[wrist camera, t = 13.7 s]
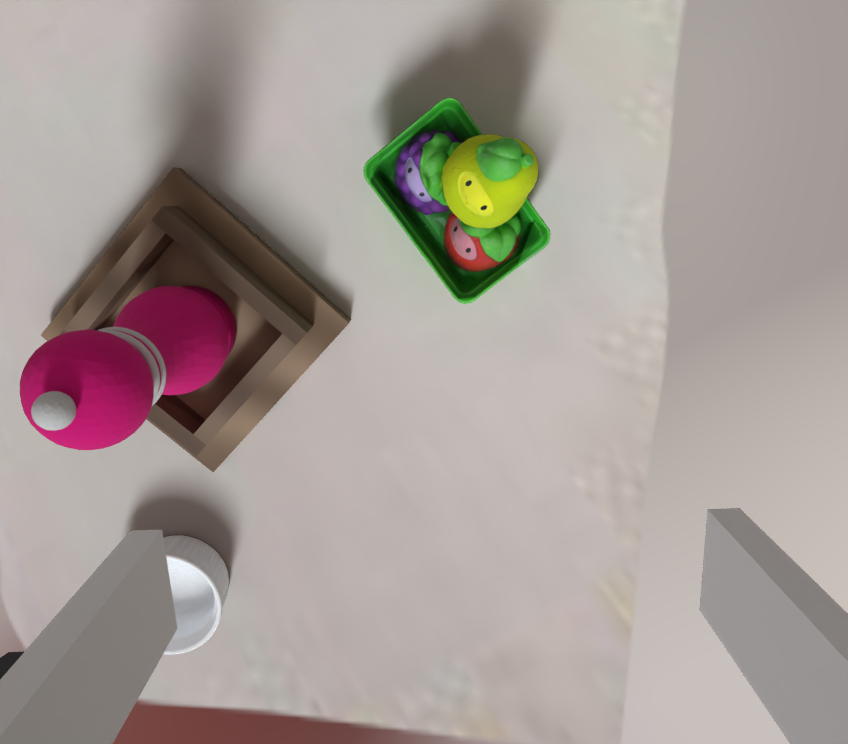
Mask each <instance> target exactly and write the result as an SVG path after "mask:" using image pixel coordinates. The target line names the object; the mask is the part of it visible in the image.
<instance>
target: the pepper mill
mask: <svg viewBox="0 0 848 744" xmlns="http://www.w3.org/2000/svg"><path fill="white" fill-rule="evenodd" d="M236 331H237V330H236V322H235V319H234V316H233V313H232V311H231V310H230V308H229V306H228V305H227V304H226V303H225V301H224V300H223V299H222V298H220V297H219V296H218V295H217V294H216V293H214V292H212V291H210V290H208V289H205V288H203V287H198V286H181V287H175V286H162V287H157V288H152V289H150V290H148V291H145V292H143V293H142V294H140V295H138V296H137V297H135V298H133V299H132V300H131V301H130V302H129V303H128V304H126V305H125V306H124V308H123V309H122V311H121V312H120V314H119V315H118V317H117V319H116V320H115V323H114V326H113V327H108V328H102V329H99V330H97V331H96V330H90V329H86V330H78V331H71V332H67V333H64V334H61V335H58V336H56V337H54V338H52V339H51V340H49V341H47V342H46V343H44V344H43V345H42V346H41V347H40V348H38V349H37V350H36V351H35V352H34V353H33V355H32V356H31V357H30V359H29V360H28V362H27V364H26V365H25V368H24V370H23V372H22V376H21V380H20V397H21V403H22V407H23V410H24V413H25V415H26V416H27V418H28V420H29V421H30V423H31V424H32V425H33V426H34V427H35V428H36V430H37V431H38V432H40V433H41V434H42V435H43V436H45V437H46V438H47V439H49V440H51V441H53V442H54V443H56V444H58V445H61V446H64V447H68V448H73V449H78V450H95V449H101V448H106V447H109V446H112V445H115V444H117V443H119V442H121V441H123V440H125V439H126V438H128V437H129V436H130V435H132V434H133V433H134V432H135V431H136V430H137V429H138V428H139V427H140V426H141V425H142V424H143V422H144V421H145V420H146V418H147V417H148V415H149V412H150V410H151V407H152V406H153V405H154V404H155V403H156V402H157V400H158V399H159V398H160V397H161V395H180V394H185V393H189V392H192V391H195V390H197V389H198V388H200V387H202V386H203V385H205V384H207V383H208V382H210V381H211V380H212V379H213V378H214V377H215V376H216V375H217V374H218V373H219V371H220V370H221V368H222V366H223V365H224V362H225V360H226V358H227V356H228V355H229V354H230V352H231V351H232V349H233V347H234V344H235V340H236Z"/></svg>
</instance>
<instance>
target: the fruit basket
mask: <svg viewBox="0 0 848 744" xmlns="http://www.w3.org/2000/svg"><path fill="white" fill-rule="evenodd" d="M364 177H365V179H366V181H367V182H368V184H369V185H370V186H371V188H372V189H373V190H374V191H375V193H376V194H377V195H378V197H379V198H380V199H381V201H382V202H383V203H384V204H385V206H386V207H387V208H388V210H389V211H390V212H391V213H392V215H393V216H394V217H395V219H396V220H397V222H398V223H399V224H400V226H401V227H402V228H403V230H404V231H405V232H406V234H407V235H408V236H409V238H410V239H411V240H412V242H413V243H414V245H415V246H416V247H417V249H418V250H419V251H420V253H421V254H422V255H423V256H424V258H425V259H426V260H427V262H428V263H429V264H430V266H431V267H432V268H433V270H434V271H435V272H436V274H437V275H438V277H439V278H440V279H441V280H442V282H443V283H444V285H445V286H446V287H447V289H448V290H449V291H450V293H451V294H452V296H453V297H454V298H455V299H456V300H457V301H459V302H460V303H464V304H466V303H471V302H473V301H475V300H476V299H477V298H479V297H480V296H481V295H482V294H484V293H485V292H486V291H487V290H489V289H490V288H491V287H493V286H494V285H495V284H497V283H498V282H499V281H500V280H502V279H503V278H504V277H505V276H507V275H508V274H510V273H511V272H512V271H514V270H515V269H516V268H518V267H519V266H520V265H522V264H523V263H524V262H526V261H527V260H529V259H530V258H531V257H533V256H534V255H535V254H537V253H538V252H540V251H541V250H542V249H544V248H545V247H546V246H547V244H548V243H549V241H550V230H549V228H548V227H547V226H546V224H545V223H544V221H543V220H542V218H541V217H540V216H539V214H538V213H537V212H536V210H535V209H534V207H533V206H532V204H531V203H530V202H529V200H528V199H527V196H528V194H529V193H530V191H531V190H532V189H533V187H534V186H535V183H536V181H537V177H538V162H537V158H536V156H535V154H534V152H533V151H532V149H531V148H530V147H529V146H528V145H527V144H525V143H524V142H522V141H520V140H518V139H515V138H504V137H502V136H499V135H492V134H485V135H483V134H482V133H481V132H480V130H479V129H478V127H477V126H476V125H475V123H474V121H473V120H472V119H471V117H470V116H469V114H468V113H467V111H466V110H465V109H464V107H463V106H462V104H461V103H460V102H459V101H458V100H456V99H454V98H445V99H443V100H441V101H440V102H438V103H437V104H436V105H435V106H434V107H433V108H431V109H430V110H429V111H428V112H427V113H425V114H424V115H423V116H422V117H420V118H419V119H418V120H417V121H416V122H414V123H413V124H412V125H411V126H409V127H408V128H407V129H406V130H405V131H403V132H402V133H401V134H400V135H399V136H397V137H396V138H395V139H394V140H393V141H391V142H390V143H389V144H388V145H386V146H385V147H384V148H382V149H381V150H380V151H379V152H378V153H376V154H375V155H374V156H373V157H372V158H370V159H369V160H368V161H367V162H366V164H365V166H364Z"/></svg>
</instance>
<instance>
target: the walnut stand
mask: <svg viewBox="0 0 848 744" xmlns="http://www.w3.org/2000/svg"><path fill="white" fill-rule="evenodd" d="M162 286H175V287H181V286H198V287H203V288H205V289H208V290H210V291H212V292H214V293H216V294H217V295H218V296H219V297H220V298H222V299H223V300H224V301H225V303H226V304H227V305H228V306H229V308H230V310H231V311H232V313H233V316H234V319H235V322H236V330H237V331H236V340H235V344H234V347H233V349H232V351H231V352H230V354H229V355H228V356H227V358H226V360H225V362H224V365H223V366H222V368H221V370H220V371H219V373H218V374H217V375H216V376H215V377H214V378H213V379H212V380H211V381H210V382H208V383H207V384H205V385H203V386H202V387H200V388H198V389H197V390H195V391H192V392H189V393H185V394H180V395H161V397H160V398H159V399H158V400H157V402H156V403H155V404H154V405H153V406H152V407H151V410H150V412H149V415H148V417H147V418H146V419H147V420H148V421H149V422H151V423H152V424H153V425H154V426H156V427H157V428H158V429H159V430H161V431H162V432H163V433H164V434H166V435H167V436H168V437H169V438H171V439H172V440H173V441H174V442H176V443H177V444H178V445H179V446H181V447H182V448H183V449H185V450H186V451H187V452H188V453H190V454H191V455H192V456H193V457H195V458H196V459H197V460H198V461H200V462H201V463H202V464H203V465H205V466H206V467H207V468H208V469H210V470H211V471H212V472H214V471H215V470H216V469H217V468H218V467H219V465H220V464H221V463H222V462H223V461H224V460H225V459H226V458H227V457H228V456H229V454H230V453H231V452H232V451H233V450H234V449H235V448H236V447H237V446H238V445H239V443H240V442H241V441H242V440H243V439H244V438H245V437H246V436H247V435H248V434H249V432H250V431H251V430H252V429H253V428H254V427H255V426H256V425H257V424H258V423H259V421H260V420H261V419H262V418H263V417H264V416H265V415H266V414H267V413H268V412H269V410H270V409H271V408H272V407H273V406H274V405H275V404H276V403H277V402H278V401H279V399H280V398H281V397H282V396H283V395H284V394H285V393H286V392H287V391H288V390H289V388H290V387H291V386H292V385H293V384H294V383H295V382H296V381H297V380H298V379H299V377H300V376H301V375H302V374H303V373H304V372H305V371H306V370H307V369H308V368H309V366H310V365H311V364H312V363H313V362H314V361H315V360H316V359H317V358H318V357H319V355H320V354H321V353H322V352H323V351H324V350H325V349H326V348H327V347H328V346H329V344H330V343H331V342H332V341H333V340H334V339H335V338H336V337H337V336H338V335H339V333H340V332H341V331H342V330H343V329H344V328H345V327H346V326H347V325H348V324H349V322H350V320H351V319H350V318H349V317H347V316H346V315H345V314H344V313H343V312H342V311H341V310H340V309H338V308H337V307H336V306H335V305H334V304H333V303H332V302H331V301H329V300H328V299H327V298H326V297H325V296H324V295H323V294H322V293H320V292H319V291H318V290H317V289H316V288H315V287H314V286H313V285H311V284H310V283H309V282H308V281H307V280H306V279H305V278H304V277H302V276H301V275H300V274H299V273H298V272H297V271H296V270H295V269H293V268H292V267H291V266H290V265H289V264H288V263H287V262H286V261H284V260H283V259H282V258H281V257H280V256H279V255H278V254H277V253H275V252H274V251H273V250H272V249H271V248H270V247H269V246H268V245H266V244H265V243H264V242H263V241H262V240H261V239H260V238H259V237H257V236H256V235H255V234H254V233H253V232H252V231H251V230H250V229H248V228H247V227H246V226H245V225H244V224H243V223H242V222H241V221H239V220H238V219H237V218H236V217H235V216H234V215H233V214H232V213H230V212H229V211H228V210H227V209H226V208H225V207H224V206H223V205H221V204H220V203H219V202H218V201H217V200H216V199H215V198H214V197H212V196H211V195H210V194H209V193H208V192H207V191H206V190H205V189H203V188H202V187H201V186H200V185H199V184H198V183H197V182H196V181H194V180H193V179H192V178H191V177H190V176H189V175H188V174H187V173H185V172H184V171H183V170H182V169H180V168H173V169H172V170H171V171H170V173H169V174H168V175H167V176H166V178H165V179H164V180H163V181H162V183H161V184H160V185H159V187H158V188H157V189H156V190H155V192H154V193H153V194H152V195H151V197H150V198H149V199H148V200H147V202H146V203H145V204H144V205H143V207H142V208H141V209H140V211H139V212H138V213H137V214H136V216H135V217H134V218H133V219H132V221H131V222H130V223H129V224H128V226H127V227H126V228H125V229H124V231H123V232H122V233H121V234H120V236H119V237H118V238H117V240H116V241H115V242H114V243H113V245H112V246H111V247H110V248H109V250H108V251H107V252H106V253H105V255H104V256H103V257H102V258H101V260H100V261H99V262H98V264H97V265H96V266H95V267H94V269H93V270H92V271H91V272H90V274H89V275H88V276H87V277H86V279H85V280H84V281H83V282H82V284H81V285H80V286H79V287H78V289H77V290H76V291H75V293H74V294H73V295H72V296H71V298H70V299H69V300H68V301H67V303H66V304H65V305H64V306H63V308H62V309H61V310H60V311H59V313H58V314H57V315H56V317H55V318H54V319H53V320H52V322H51V323H50V324H49V325H48V327H47V328H46V329H45V330H44V332H43V333H42V334H41V336H42V337H44V338H45V339H46V340H47V341H49V340H51V339H52V338H54V337H56V336H58V335H61V334H64V333H67V332H71V331H78V330H86V329H90V330H96V331H97V330H99V329H102V328H108V327H113V326H114V323H115V320H116V319H117V317H118V315H119V314H120V312H121V311H122V309H123V308H124V306H125V305H126V304H128V303H129V302H130V301H131V300H132V299H133V298H135V297H137V296H138V295H140V294H142V293H143V292H145V291H148V290H150V289H152V288H157V287H162Z"/></svg>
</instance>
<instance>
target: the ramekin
mask: <svg viewBox="0 0 848 744" xmlns="http://www.w3.org/2000/svg"><path fill="white" fill-rule="evenodd" d="M163 539H164V546H165V552H166V558H167V565H168V571H169V578H170V584H171V590H172V597H173V603H174V610H175V616H176V622H177V630H176V632H175V634H174V635H173V637H172V639H171V641H170V643H169V644H168V646H167V648H166V650H165V651H164V653H163V654H180V653H185V652H188V651H191V650H193V649H195V648H197V647H199V646H201V645H202V644H204V643H205V642H206V641H207V640H208V639H209V638H210V637H211V636H212V635H213V633H214V632H215V630H216V629H217V627H218V624H219V622H220V618H221V614H222V607H223V604H224V601H225V599H226V596H227V592H228V587H229V577H228V572H227V568H226V565H225V563H224V561H223V559H222V558H221V556H220V555H219V554H218V553H217V552H216V551H215V550H214V549H213V548H212V547H210V546H209V545H208V544H206V543H204V542H202V541H201V540H198V539H196V538H192V537H189V536H183V535H174V536H167V537H163Z"/></svg>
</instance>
